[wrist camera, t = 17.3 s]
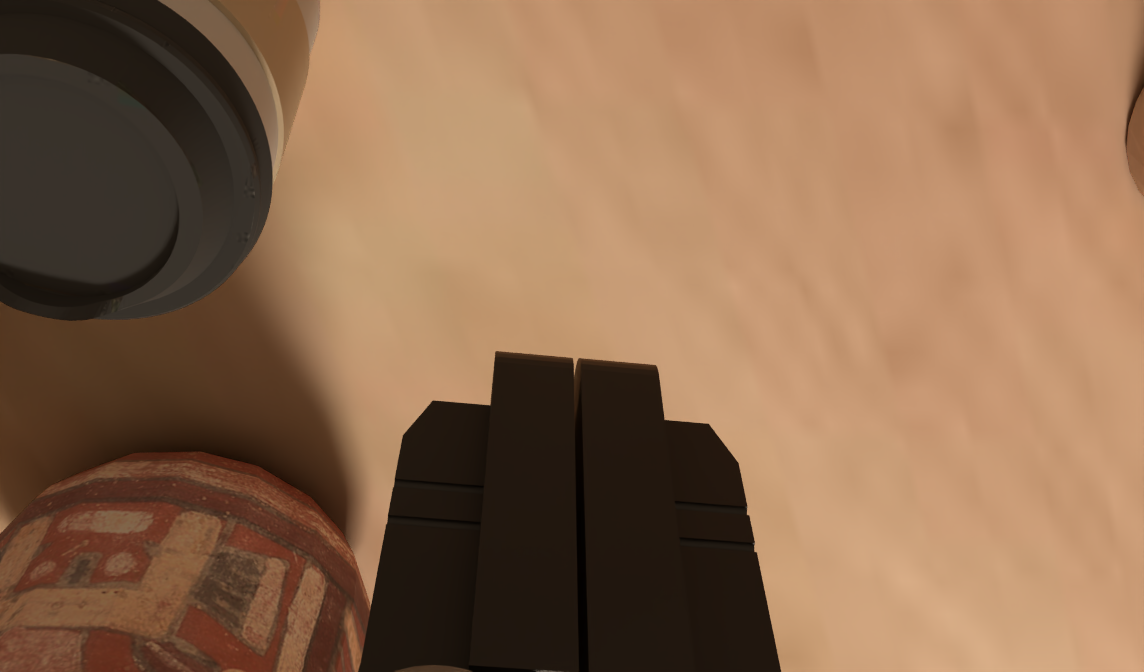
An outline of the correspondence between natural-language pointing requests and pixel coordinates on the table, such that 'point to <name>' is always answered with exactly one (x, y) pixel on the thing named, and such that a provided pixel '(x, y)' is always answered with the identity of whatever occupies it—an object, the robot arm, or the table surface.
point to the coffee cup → (140, 146)
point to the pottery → (178, 574)
